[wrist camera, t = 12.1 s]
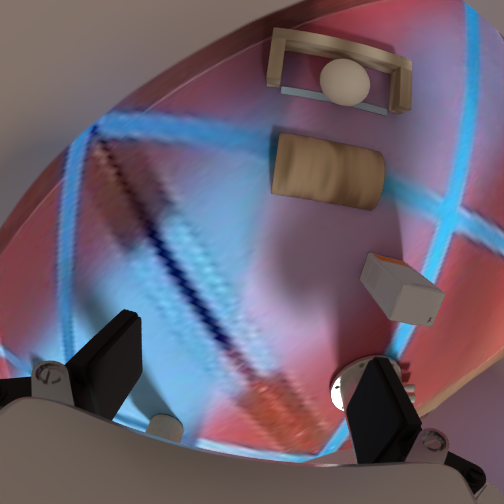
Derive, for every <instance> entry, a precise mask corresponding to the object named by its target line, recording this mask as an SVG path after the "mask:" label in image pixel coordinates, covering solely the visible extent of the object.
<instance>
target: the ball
mask: <svg viewBox="0 0 504 504" xmlns="http://www.w3.org/2000/svg"><path fill="white" fill-rule="evenodd" d="M320 86H321V89H322V91H323V93H324V94H325V96H326V97H327V98H328V99H329V100H331V101H332V102H334V103H336V104H338V105H342V106H353V105H356V104H358V103H360V102H362V101H363V100H364V99H365V98H366V96H367V95H368V93H369V90H370V80H369V76H368V74H367V72H366V71H365V69H364V68H363V67H362V66H361V65H359V64H358V63H356V62H354V61H352V60H349V59H336V60H333V61H331V62H329V63H328V64H327V65H326V66H325V67H324V68H323V70H322V71H321V74H320Z"/></svg>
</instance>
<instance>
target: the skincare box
mask: <svg viewBox="0 0 504 504" xmlns="http://www.w3.org/2000/svg"><path fill="white" fill-rule="evenodd" d="M360 281H361V282H362V284H363V285H364V286H365V288H366V289H367V290H368V292H369V293H370V294H371V296H372V297H373V298H374V300H375V301H376V302H377V304H378V305H379V306H380V308H381V309H382V311H383V312H384V313H385V315H386V316H387V318H388V319H389V320H391V321H397V322H403V323H407V324H411V325H420V326H427V327H432V325H433V323H434V320H435V318H436V316H437V313H438V311H439V309H440V306H441V304H442V302H443V299H444V296H445V293H444V292H443V291H442V290H440V289H439V288H438V287H437V286H435V285H434V284H433V283H432V282H430V281H429V280H428V279H427V278H425V277H424V276H423V275H421V274H420V273H419V272H417V271H416V270H415V269H413V268H412V267H411V266H410V265H408V264H407V263H406V262H404V261H401V260H397V259H393V258H389V257H385V256H381V255H378V254H374V253H371V252H369V253H368V255H367V258H366V261H365V264H364V268H363V271H362V273H361V276H360Z"/></svg>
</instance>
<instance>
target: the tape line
mask: <svg viewBox="0 0 504 504" xmlns="http://www.w3.org/2000/svg"><path fill="white" fill-rule="evenodd" d="M281 94H287V95H294V96H300V97H306V98H312V99H317V100H322V101H327V102H332V101H331V100H329V99H328V98H327V97H326V96H325V94H324V93H320V92H314V91H309V90H303V89H297V88H290V87H284V86H282V87H281ZM332 103H334V102H332ZM350 107H354V108H358V109H362V110H366V111H370V112H373V113H377V114H381V115H384V116H387V111H388V109H385V108H382V107H378V106H375V105H371V104H368V103H364V102H360V103H358V104H356V105H353V106H350Z"/></svg>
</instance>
